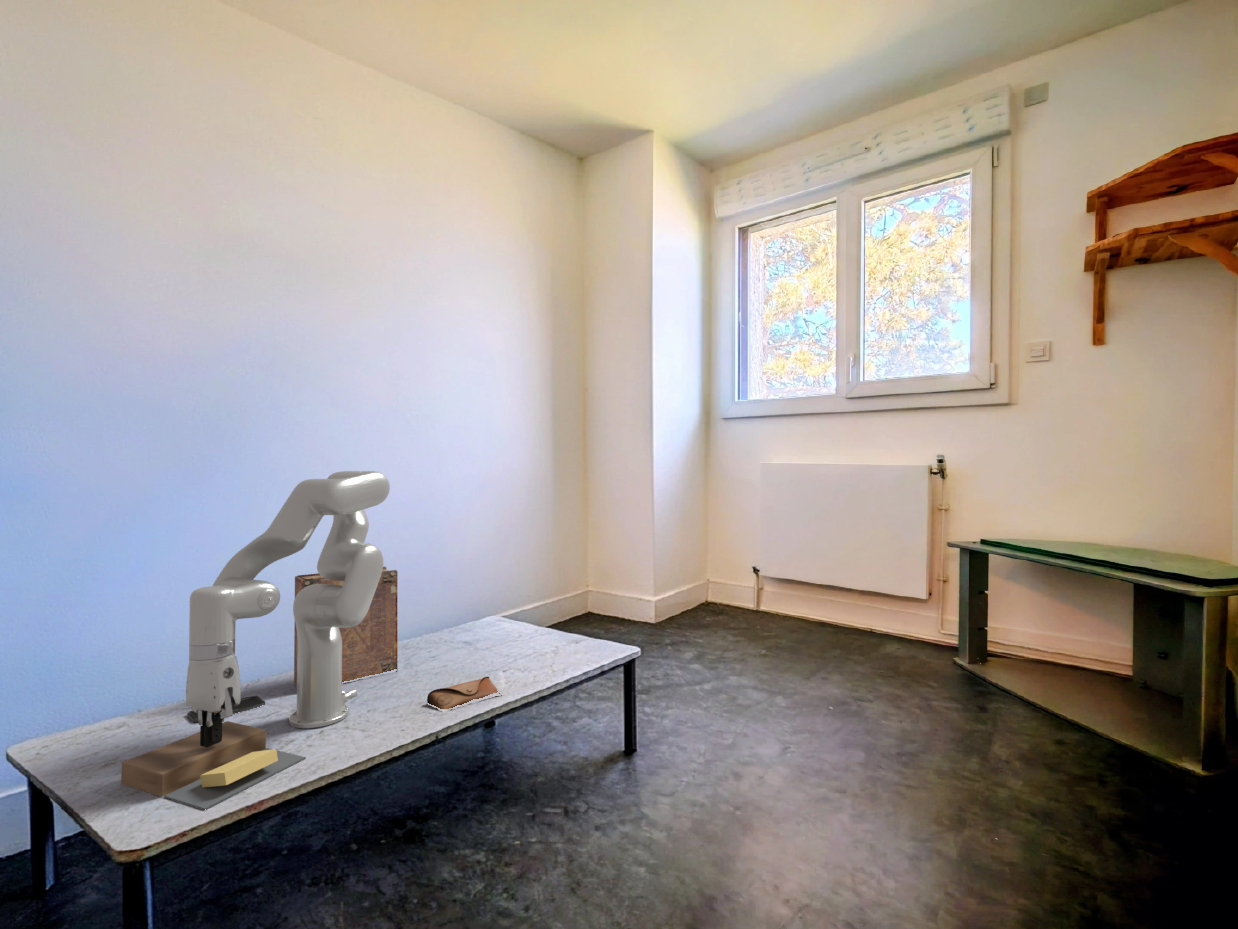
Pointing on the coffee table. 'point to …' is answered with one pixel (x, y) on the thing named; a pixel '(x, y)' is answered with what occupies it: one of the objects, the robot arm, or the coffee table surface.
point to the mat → (216, 794)
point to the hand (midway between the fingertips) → (211, 743)
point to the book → (364, 630)
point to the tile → (238, 768)
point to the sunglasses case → (461, 693)
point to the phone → (235, 707)
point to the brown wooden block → (189, 759)
